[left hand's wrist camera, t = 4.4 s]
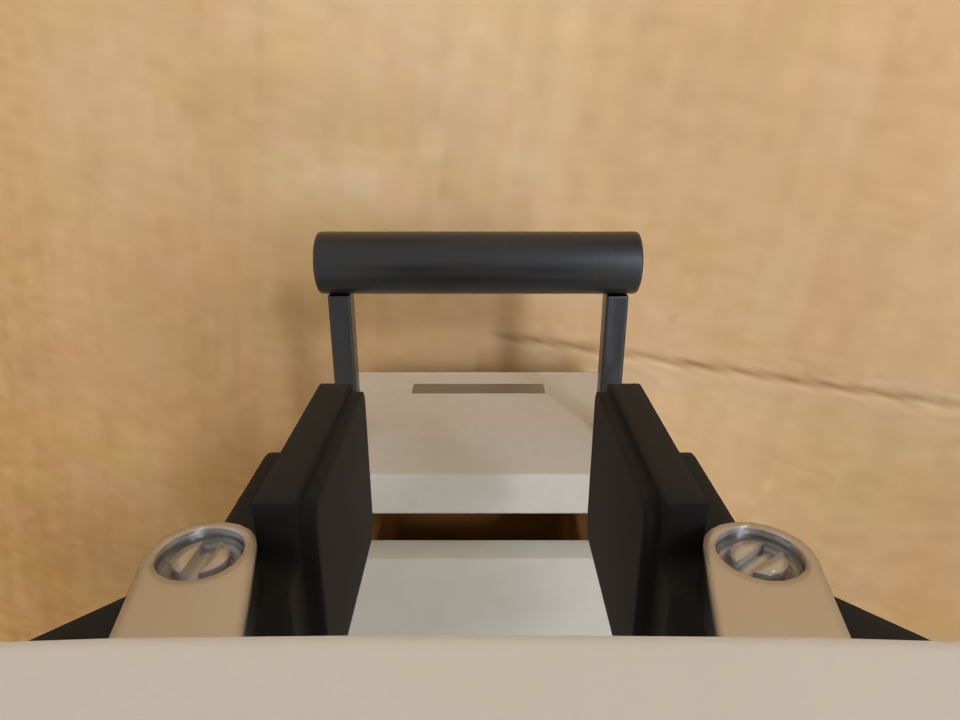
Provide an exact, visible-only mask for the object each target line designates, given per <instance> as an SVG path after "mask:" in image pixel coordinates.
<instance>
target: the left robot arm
mask: <svg viewBox="0 0 960 720" xmlns="http://www.w3.org/2000/svg"><path fill="white" fill-rule="evenodd" d="M372 534H373V513H372V497H371V482H370V467H369V451H368V436H367V420H366V405H365V396H364V392H354V388H353V385H352V384H320V385H319V387H318V389H317V390H316V392H315V394H314V396H313V397H312V399H311V401H310V402H309V404H308V406H307V408H306V409H305V411H304V413H303V415H302V416H301V418H300V420H299V422H298V423H297V425H296V427H295V428H294V430H293V432H292V434H291V435H290V437H289V439H288V441H287V442H286V444H285V446H284V448H283V449H282V451H281V453H268V454H267V455H266V456H265V458H264V459H263V461H262V463H261V464H260V466H259V467H258V469H257V471H256V472H255V474H254V476H253V477H252V479H251V480H250V482H249V484H248V485H247V487H246V489H245V490H244V492H243V493H242V495H241V497H240V498H239V500H238V502H237V503H236V505H235V506H234V508H233V510H232V511H231V513H230V515H229V516H228V518H227V519H226V521H225V522H209V523H204V524H198V525H193V526H190V527H187V528H184V529H181V530H178V531H176V532H174V533H172V534H170V535H168V536H166V537H165V538H163V539H161V540H160V541H158V542H157V543H156V544H155V545H154V546H152V547H151V548H150V549H149V550H148V552H147V553H146V555H145V556H144V557H143V559H142V561H141V563H140V566H139V568H138V570H137V573H136V575H135V577H134V580H133V582H132V584H131V587H130V589H129V591H128V594H127V596H126V597H124V598H122V599H120V600H117V601H115V602H113V603H111V604H109V605H106V606H104V607H102V608H100V609H98V610H95V611H93V612H91V613H89V614H87V615H84V616H82V617H80V618H78V619H76V620H74V621H71V622H69V623H67V624H65V625H63V626H60V627H58V628H56V629H54V630H52V631H49V632H47V633H45V634H43V635H41V636H38V637H36V638H34V639H32V640H30V641H15V642H0V720H960V642H947V641H930V640H928V639H926V638H924V637H922V636H919V635H917V634H915V633H913V632H911V631H908V630H906V629H904V628H902V627H900V626H898V625H895V624H893V623H891V622H889V621H887V620H884V619H882V618H880V617H878V616H876V615H873V614H871V613H869V612H867V611H865V610H862V609H860V608H858V607H856V606H854V605H851V604H849V603H847V602H845V601H843V600H840V599H838V598H836V597H834V596H833V594H832V591H831V589H830V587H829V584H828V582H827V580H826V577H825V575H824V573H823V570H822V568H821V566H820V563H819V561H818V559H817V558H816V556H815V555H814V553H813V552H812V550H811V549H810V548H809V547H808V546H806V545H805V544H804V543H803V542H802V541H800V540H799V539H797V538H795V537H794V536H792V535H790V534H788V533H786V532H784V531H782V530H779V529H776V528H773V527H770V526H767V525H762V524H756V523H751V522H735V521H734V519H733V518H732V516H731V515H730V513H729V511H728V510H727V508H726V506H725V505H724V503H723V502H722V500H721V498H720V497H719V495H718V493H717V492H716V490H715V489H714V487H713V485H712V484H711V482H710V480H709V479H708V477H707V476H706V474H705V472H704V471H703V469H702V467H701V466H700V464H699V462H698V461H697V459H696V458H695V456H694V455H693V454H692V453H679V451H678V449H677V448H676V446H675V444H674V442H673V441H672V439H671V437H670V435H669V434H668V432H667V430H666V428H665V427H664V425H663V423H662V422H661V420H660V418H659V416H658V415H657V413H656V411H655V409H654V408H653V406H652V404H651V402H650V401H649V399H648V397H647V396H646V394H645V392H644V390H643V389H642V387H641V385H640V384H608V385H607V388H606V392H596V396H595V405H594V420H593V436H592V451H591V467H590V482H589V498H588V513H587V534H588V540H589V545H590V549H591V553H592V557H593V561H594V565H595V569H596V573H597V577H598V581H599V585H600V589H601V593H602V597H603V601H604V605H605V609H606V613H607V617H608V621H609V625H610V629H611V633H612V636H574V635H375V636H348V633H349V629H350V625H351V621H352V617H353V613H354V609H355V605H356V601H357V597H358V593H359V589H360V585H361V581H362V577H363V573H364V569H365V565H366V561H367V557H368V553H369V549H370V545H371V540H372Z"/></svg>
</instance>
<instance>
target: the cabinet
mask: <svg viewBox="0 0 960 720" xmlns="http://www.w3.org/2000/svg"><path fill="white" fill-rule="evenodd" d="M375 635H574V636H612V633H611V629H610V625H609V621H608V617H607V613H606V609H605V605H604V601H603V597H602V593H601V589H600V585H599V581H598V577H597V573H596V569H595V565H594V561H593V557H592V553H591V549H590V545H589V540H371V545H370V549H369V553H368V557H367V561H366V565H365V569H364V573H363V577H362V581H361V585H360V589H359V593H358V597H357V601H356V605H355V609H354V613H353V617H352V621H351V625H350V629H349V633H348V636H375Z"/></svg>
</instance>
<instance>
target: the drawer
mask: <svg viewBox="0 0 960 720" xmlns="http://www.w3.org/2000/svg"><path fill="white" fill-rule="evenodd" d="M313 270H314V277H315V282H316V285H317V288H318V290H319V292H321V293H323V294H329V295H328V304H329V317H330V329H331V341H332V354H333V366H334V378H335V384H352V385H353V388H354V392H364V396H365V405H366V420H367V436H368V451H369V467H370V482H371V497H372V513H373V534H372V540H588V534H587V513H588V498H589V482H590V467H591V451H592V436H593V420H594V405H595V396H596V392H606V388H607V385H608V384H622V372H623V359H624V347H625V334H626V321H627V309H628V295H627V294H633V293H636V292H637V291H638V289H639V286H640V283H641V279H642V273H643V246H642V241H641V237H640V235H639V233H637V232H319V233H318V234H317V235H316V238H315V242H314V248H313ZM353 294H603V305H602V320H601V336H600V351H599V366H598V372H359V371H358V356H357V341H356V326H355V311H354V296H353Z"/></svg>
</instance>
